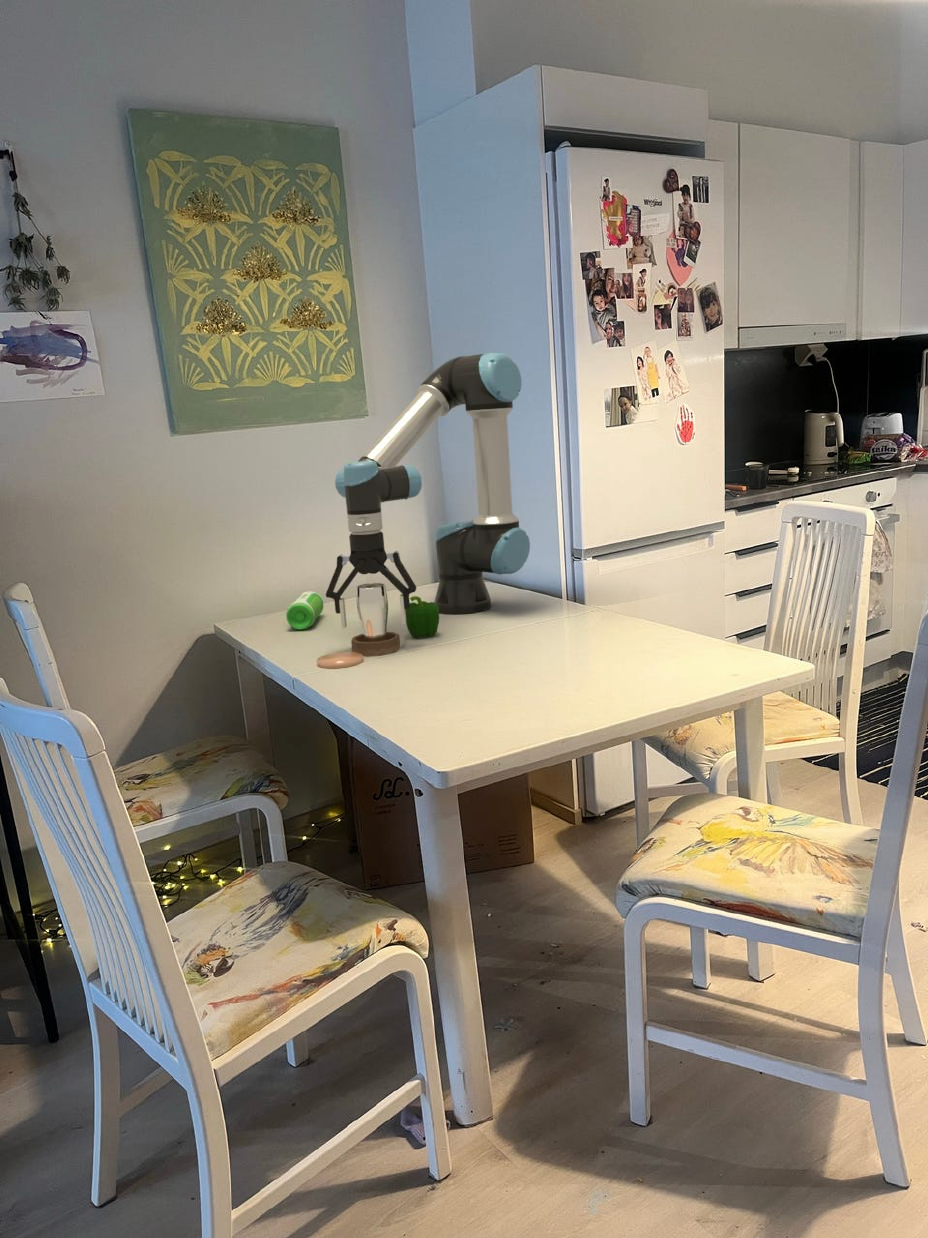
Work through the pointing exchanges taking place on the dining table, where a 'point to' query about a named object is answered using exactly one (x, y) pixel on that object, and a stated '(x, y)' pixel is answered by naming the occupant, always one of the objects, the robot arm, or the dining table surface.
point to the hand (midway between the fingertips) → (374, 625)
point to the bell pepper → (422, 618)
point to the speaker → (304, 610)
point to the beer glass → (372, 611)
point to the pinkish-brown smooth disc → (340, 660)
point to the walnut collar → (376, 645)
